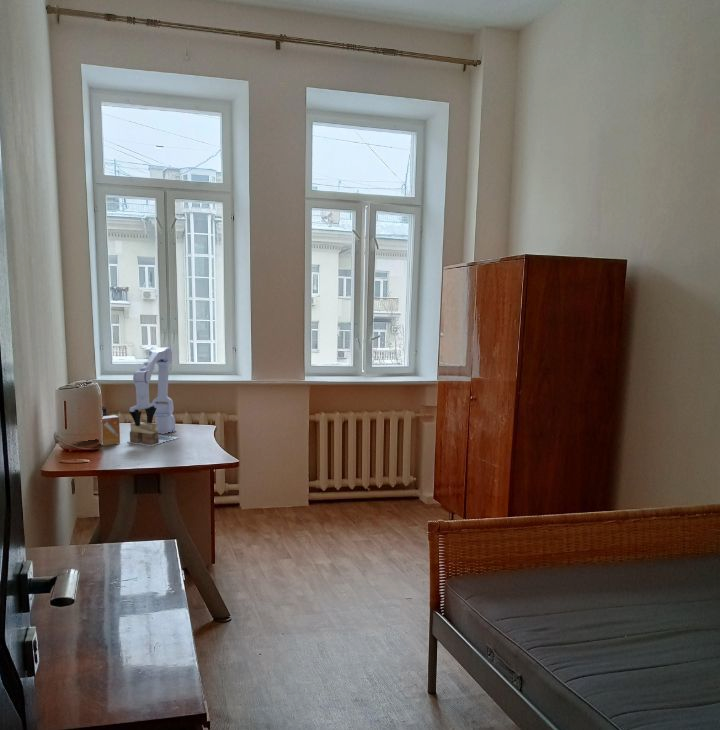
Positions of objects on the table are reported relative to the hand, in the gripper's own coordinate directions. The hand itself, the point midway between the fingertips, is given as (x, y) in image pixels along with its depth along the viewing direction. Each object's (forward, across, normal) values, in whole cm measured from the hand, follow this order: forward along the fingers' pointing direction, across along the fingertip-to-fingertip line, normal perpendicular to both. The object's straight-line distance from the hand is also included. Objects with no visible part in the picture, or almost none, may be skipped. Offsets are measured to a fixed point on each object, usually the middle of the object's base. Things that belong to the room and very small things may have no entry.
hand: (143, 424), depth 268 cm
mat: (+9, +6, 0) cm, 11 cm away
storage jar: (+9, -2, +29) cm, 31 cm away
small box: (+9, -8, +14) cm, 19 cm away
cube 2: (+9, 0, -4) cm, 9 cm away
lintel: (+4, 0, 0) cm, 4 cm away
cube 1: (+9, 0, +4) cm, 9 cm away
